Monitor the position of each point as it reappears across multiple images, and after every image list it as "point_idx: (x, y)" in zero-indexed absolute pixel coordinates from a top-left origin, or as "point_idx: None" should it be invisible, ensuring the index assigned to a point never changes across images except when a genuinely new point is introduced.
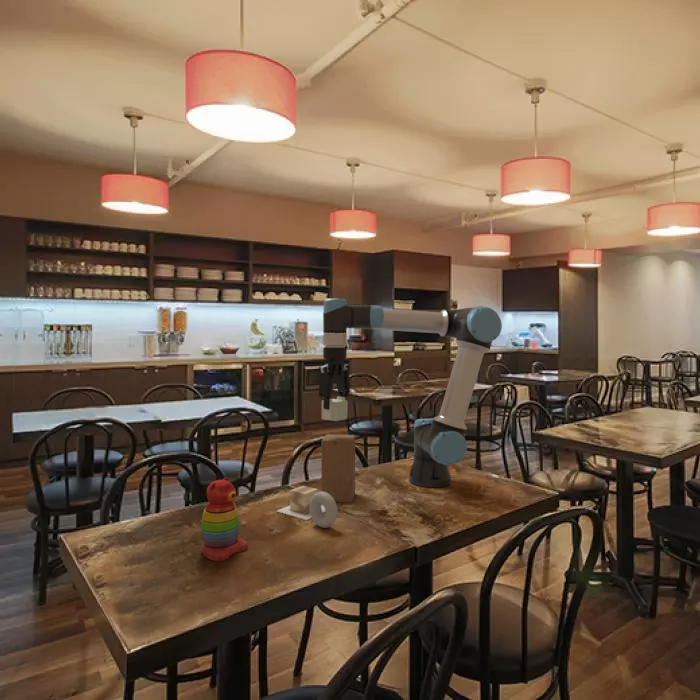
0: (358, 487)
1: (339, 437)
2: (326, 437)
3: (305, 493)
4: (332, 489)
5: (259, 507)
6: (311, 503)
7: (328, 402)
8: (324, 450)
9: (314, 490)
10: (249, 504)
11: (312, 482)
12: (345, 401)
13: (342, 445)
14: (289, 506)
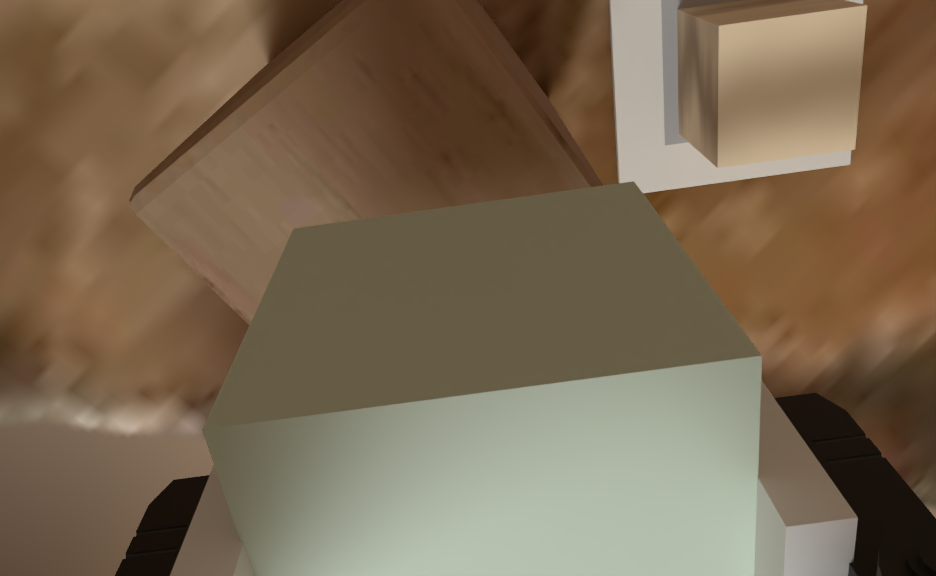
0: (157, 142)
1: None
2: None
3: (854, 12)
4: (517, 57)
5: (838, 284)
6: None
7: (848, 501)
8: None
9: (758, 19)
10: (831, 353)
11: None
12: (307, 403)
13: (499, 48)
14: (752, 165)
